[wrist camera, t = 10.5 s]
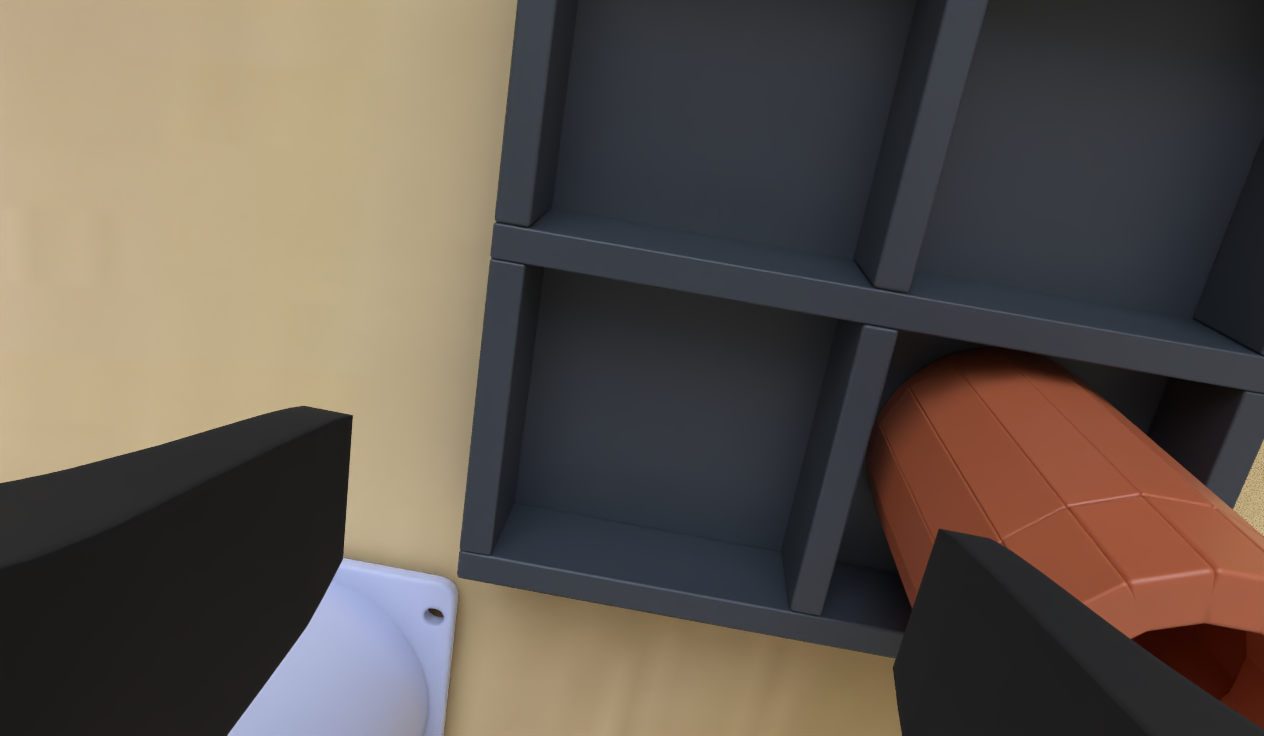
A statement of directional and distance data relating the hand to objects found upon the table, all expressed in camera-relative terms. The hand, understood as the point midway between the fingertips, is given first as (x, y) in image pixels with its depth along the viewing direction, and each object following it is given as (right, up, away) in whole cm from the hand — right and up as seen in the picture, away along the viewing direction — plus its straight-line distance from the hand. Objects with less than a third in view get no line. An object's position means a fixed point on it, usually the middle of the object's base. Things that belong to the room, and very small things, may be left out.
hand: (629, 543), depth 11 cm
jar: (+8, 0, +9) cm, 12 cm away
